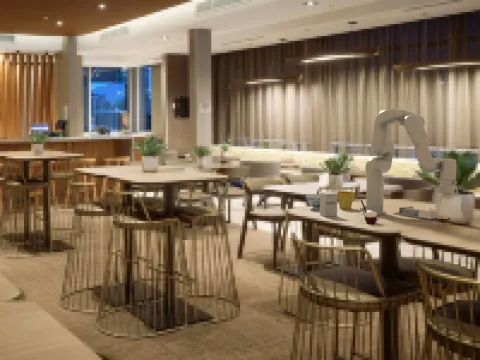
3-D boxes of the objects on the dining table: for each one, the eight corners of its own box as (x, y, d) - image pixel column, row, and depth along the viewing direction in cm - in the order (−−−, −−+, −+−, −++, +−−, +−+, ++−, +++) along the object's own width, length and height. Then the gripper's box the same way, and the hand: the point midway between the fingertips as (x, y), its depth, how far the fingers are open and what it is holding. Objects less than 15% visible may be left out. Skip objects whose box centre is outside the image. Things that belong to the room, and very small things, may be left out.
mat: (432, 220, 316) (432, 219, 316) (393, 214, 339) (393, 213, 339) (450, 218, 323) (450, 217, 323) (411, 212, 346) (411, 211, 346)
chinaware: (336, 208, 359) (336, 195, 358) (321, 211, 348) (322, 198, 347) (315, 206, 369) (315, 193, 368) (300, 208, 358) (301, 195, 357)
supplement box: (324, 216, 328) (325, 193, 327) (319, 214, 336) (319, 192, 334) (337, 216, 330) (337, 193, 329) (331, 214, 337) (332, 191, 336)
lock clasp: (429, 218, 317) (430, 211, 317) (418, 216, 324) (418, 209, 323) (442, 217, 323) (442, 209, 322) (431, 215, 329) (431, 208, 329)
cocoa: (379, 222, 311) (380, 199, 309) (379, 224, 305) (380, 200, 303) (360, 221, 313) (360, 198, 312) (360, 223, 307) (360, 200, 305)
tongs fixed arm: (420, 216, 326) (420, 211, 326) (398, 212, 339) (398, 207, 339) (432, 215, 331) (432, 209, 331) (410, 211, 344) (410, 206, 344)
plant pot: (357, 209, 356) (358, 192, 355) (342, 210, 353) (342, 193, 352) (348, 206, 366) (348, 190, 365) (333, 207, 362) (333, 191, 361)
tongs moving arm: (422, 215, 327) (422, 210, 327) (404, 212, 338) (405, 207, 337) (424, 215, 328) (424, 210, 328) (407, 212, 339) (407, 207, 338)
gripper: (464, 183, 308) (463, 219, 310) (441, 181, 321) (440, 215, 322) (455, 184, 304) (454, 220, 306) (431, 181, 317) (430, 216, 318)
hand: (446, 217), depth 314 cm, fingers closed
